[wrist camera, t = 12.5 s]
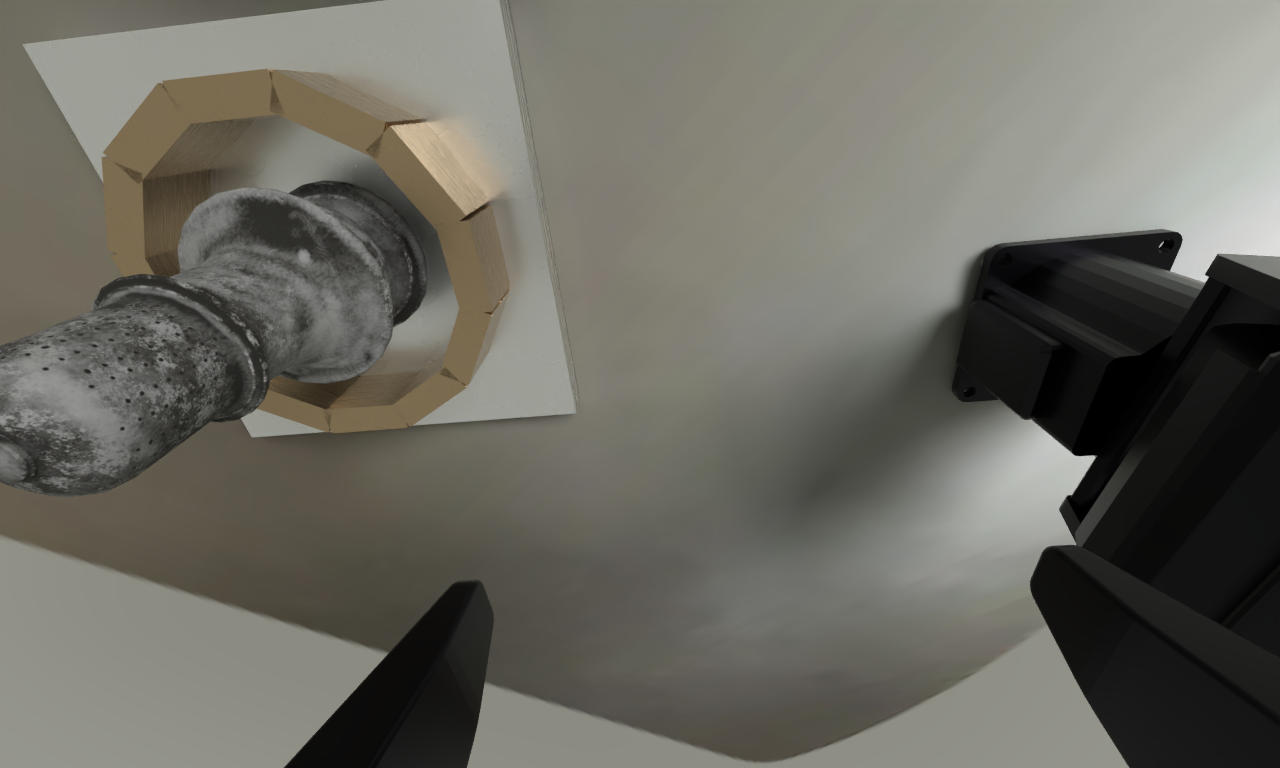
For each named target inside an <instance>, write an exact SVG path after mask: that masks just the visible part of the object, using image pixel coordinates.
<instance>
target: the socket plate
mask: <svg viewBox="0 0 1280 768" xmlns="http://www.w3.org/2000/svg"><path fill="white" fill-rule="evenodd" d="M23 46H24V48H25V50H26V51H27V53H28V55H29V56H30V58H31V60H32V62H33V63H34V65H35V67H36V68H37V70H38V72H39V74H40V75H41V77H42V79H43V80H44V82H45V84H46V86H47V87H48V89H49V91H50V92H51V94H52V96H53V98H54V99H55V101H56V103H57V104H58V106H59V108H60V110H61V111H62V113H63V115H64V116H65V118H66V120H67V122H68V123H69V125H70V127H71V128H72V130H73V132H74V134H75V135H76V137H77V139H78V140H79V142H80V144H81V146H82V147H83V149H84V151H85V152H86V154H87V156H88V158H89V159H90V161H91V163H92V164H93V166H94V168H95V169H96V171H97V173H98V175H99V176H100V178H101V180H102V181H103V186H104V200H105V214H106V229H107V243H108V250H109V251H111V252H114V253H115V254H111V255H110V256H111V258H112V260H113V261H114V263H115V264H116V266H117V268H118V269H119V271H120V272H121V274H122V276H123V277H126V276H131V275H137V274H150V275H161V276H166V277H171V276H174V275H177V274H179V273H180V267H179V258H178V245H179V241H180V236H181V232H182V227H183V225H184V223H185V222H186V220H187V219H188V217H189V216H190V215H191V213H192V212H193V210H194V209H195V207H196V206H198V205H199V204H201V203H202V202H204V201H205V200H207V199H209V198H210V197H212V196H213V195H215V194H217V193H220V192H225V191H230V190H234V189H239V188H244V187H253V188H265V189H276V190H279V191H282V192H285V193H290V192H291V191H293V190H295V189H296V188H298V187H300V186H301V185H304V184H309V183H314V182H319V181H323V180H325V181H337V182H346V183H349V184H352V185H355V186H358V187H361V188H363V189H366V190H368V191H370V192H372V193H373V194H375V195H376V196H378V197H380V198H381V199H383V200H384V201H386V202H388V203H389V204H390V205H391V206H392V207H393V208H394V209H395V210H396V211H397V212H398V213H399V214H400V215H401V216H402V217H403V218H404V219H405V220H406V221H407V223H408V224H409V226H410V227H411V229H412V230H413V232H414V233H415V235H416V236H417V238H418V240H419V243H420V245H421V248H422V250H423V253H424V255H425V258H426V266H427V273H428V280H427V286H426V293H425V296H424V298H423V300H422V302H421V304H420V306H419V308H418V309H417V310H416V311H415V312H414V313H413V314H412V315H411V316H410V317H409V318H408V319H407V320H406V321H405V322H403V323H401V324H399V325H397V326H395V327H393V332H392V338H391V340H390V342H389V344H388V346H387V348H386V350H385V352H384V354H383V356H382V357H381V358H380V359H379V360H378V361H377V362H376V363H375V364H374V365H372V366H371V367H370V368H369V369H368V370H367V371H366V372H364V373H362V374H359V375H357V376H355V377H353V378H351V379H349V380H345V381H339V382H333V383H327V384H322V383H308V382H299V381H296V380H292V379H289V378H285V377H281V376H276V377H275V378H274V379H272V380H271V381H270V382H269V384H270V385H269V388H268V391H267V394H266V397H265V400H264V401H263V402H262V403H261V404H260V405H259V406H258V407H257V408H256V410H255V411H253V412H252V413H250V414H248V415H246V416H244V417H242V418H241V420H242V421H243V423H244V425H245V426H246V428H247V430H248V432H249V433H250V435H251V437H265V436H278V435H292V434H305V433H319V432H327V433H329V432H332V433H345V432H358V431H372V430H385V429H399V428H408V426H413V425H426V424H440V423H453V422H467V421H480V420H494V419H507V418H521V417H534V416H547V415H561V414H574V413H576V411H577V407H578V402H579V394H578V388H577V383H576V377H575V371H574V366H573V360H572V355H571V349H570V344H569V338H568V332H567V327H566V321H565V316H564V310H563V304H562V299H561V293H560V288H559V282H558V276H557V271H556V265H555V260H554V254H553V249H552V243H551V237H550V232H549V226H548V221H547V215H546V209H545V204H544V198H543V193H542V187H541V182H540V176H539V170H538V165H537V159H536V154H535V148H534V142H533V137H532V131H531V126H530V120H529V115H528V109H527V103H526V98H525V92H524V87H523V81H522V75H521V70H520V64H519V59H518V53H517V48H516V42H515V36H514V31H513V25H512V20H511V14H510V8H509V3H508V0H384V1H376V2H367V3H359V4H351V5H343V6H334V7H326V8H318V9H310V10H301V11H293V12H285V13H277V14H268V15H260V16H252V17H243V18H235V19H227V20H219V21H210V22H202V23H194V24H186V25H177V26H169V27H161V28H153V29H144V30H136V31H128V32H120V33H111V34H103V35H95V36H86V37H78V38H70V39H62V40H53V41H45V42H37V43H29V44H23Z"/></svg>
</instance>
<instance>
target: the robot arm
mask: <svg viewBox="0 0 1280 768" xmlns="http://www.w3.org/2000/svg"><path fill="white" fill-rule="evenodd" d="M1163 241H1164V243H1163V245H1162V246H1161V247H1160V248H1159V246H1160V244H1161V243H1162V242H1163ZM1181 244H1182V236H1181V235H1180V234H1179V233H1178V232H1174V231H1170V230H1164V229H1159V230H1148V231H1137V232H1125V233H1114V234H1103V235H1092V236H1080V237H1069V238H1058V239H1046V240H1035V241H1024V242H1012V243H1002V244H998V245H995V246H994V247H992V248H991V249H990V250H989V251H988V252H987V253H986V256H985V258H984V261H983V265H982V269H981V273H980V277H979V281H978V285H977V289H976V293H975V298H974V302H973V304H972V305H971V306H970V309H969V313H968V317H967V321H966V325H965V329H964V333H963V337H962V341H961V345H960V349H959V354H958V358H957V363H958V366H957V370H956V374H955V378H954V382H953V386H952V392H953V394H954V395H955V396H956V397H957V398H958V399H959V400H961V401H962V402H974V401H987V400H1000V401H1002V402H1003V403H1004V404H1005V405H1006V406H1008V407H1009V408H1010V409H1011V410H1012V411H1013V412H1015V413H1016V414H1017V415H1018V416H1019V417H1020V418H1022V419H1024V420H1033V421H1034V422H1035V423H1036V424H1037V425H1039V426H1040V427H1041V428H1042V429H1043V430H1045V431H1046V432H1047V433H1048V434H1049V435H1051V436H1052V437H1053V438H1054V439H1056V440H1057V441H1058V442H1059V443H1060V444H1062V445H1063V446H1064V447H1065V448H1066V449H1068V450H1069V451H1070V452H1071V453H1072V454H1074V455H1075V456H1088V455H1094V456H1095V457H1096V458H1095V459H1094V461H1093V463H1092V464H1091V466H1090V467H1089V469H1088V470H1087V472H1086V474H1085V475H1084V477H1083V478H1082V480H1081V482H1080V483H1079V485H1078V486H1077V488H1076V490H1075V491H1074V493H1073V494H1072V495H1069V496H1067V497H1066V498H1065V500H1064V502H1063V503H1062V505H1061V506H1060V508H1059V511H1060V512H1061V514H1062V516H1063V518H1064V520H1065V522H1066V524H1067V526H1068V528H1069V530H1070V532H1071V534H1072V536H1073V538H1074V540H1075V542H1076V546H1075V545H1060V546H1049V547H1047V548H1046V549H1044V550H1043V552H1042V554H1041V556H1040V559H1039V561H1038V563H1037V566H1036V568H1035V570H1034V573H1033V575H1032V577H1031V580H1030V588H1031V593H1032V596H1033V598H1034V600H1035V602H1036V604H1037V606H1038V608H1039V610H1040V612H1041V614H1042V616H1043V617H1044V619H1045V621H1046V623H1047V625H1048V627H1049V629H1050V631H1051V633H1052V635H1053V637H1054V639H1055V641H1056V643H1057V645H1058V646H1059V648H1060V650H1061V652H1062V654H1063V656H1064V658H1065V660H1066V662H1067V664H1068V666H1069V668H1070V670H1071V672H1072V674H1073V676H1074V678H1075V679H1076V681H1077V683H1078V685H1079V687H1080V689H1081V690H1082V692H1083V694H1084V696H1085V697H1086V699H1087V701H1088V702H1089V704H1090V706H1091V708H1092V709H1093V711H1094V712H1095V714H1096V715H1097V717H1098V719H1099V720H1100V722H1101V724H1102V725H1103V727H1104V728H1105V730H1106V732H1107V733H1108V735H1109V736H1110V738H1111V739H1112V741H1113V743H1114V744H1115V746H1116V747H1117V749H1118V750H1119V752H1120V753H1121V755H1122V757H1123V758H1124V760H1125V761H1126V763H1127V765H1128V766H1129V767H1130V768H1280V257H1273V256H1254V255H1235V254H1217V256H1216V258H1215V259H1214V261H1213V262H1212V264H1211V266H1210V267H1209V269H1208V270H1207V272H1206V274H1205V275H1206V276H1208V277H1209V278H1208V280H1207V281H1206V283H1204V282H1200V281H1197V280H1194V279H1191V278H1188V277H1185V276H1182V275H1179V274H1176V273H1173V272H1170V269H1171V267H1172V265H1173V263H1174V260H1175V258H1176V256H1177V253H1178V251H1179V249H1180V247H1181ZM1158 248H1159V249H1158ZM1003 254H1006V257H1005V259H1004V260H1003V261H1002V262H1001V263H999V264H998V259H999V257H1000V256H1002V255H1003ZM970 386H971V387H970ZM967 387H970V388H969V390H967V391H965V392H964V390H965V389H966V388H967ZM493 622H494V617H493V610H492V607H491V605H490V602H489V599H488V596H487V594H486V591H485V588H484V586H483V584H482V582H481V581H479V580H462V581H457V582H455V583H453V584H452V585H451V586H450V587H449V588H448V589H447V590H446V591H445V592H444V594H443V595H442V596H441V597H440V598H439V599H438V600H437V601H436V602H435V603H434V604H433V606H432V607H431V608H430V609H429V610H428V611H427V612H426V613H425V614H424V615H423V616H422V618H421V619H420V620H419V621H418V622H417V623H416V624H415V625H414V626H413V627H412V629H411V630H410V631H409V632H408V633H407V634H406V635H405V636H404V637H403V638H402V639H401V641H400V642H399V643H398V644H397V645H396V646H395V647H394V648H393V649H392V650H391V651H390V653H389V654H388V655H387V656H386V657H385V658H384V659H383V660H382V661H381V662H380V664H379V665H378V666H377V667H376V668H375V669H374V670H373V671H372V672H371V673H370V674H369V675H368V677H367V678H366V679H365V680H364V681H363V682H362V683H361V684H360V685H359V686H358V688H357V689H356V690H355V691H354V692H353V693H352V694H351V695H350V696H349V697H348V698H347V700H346V701H345V702H344V703H343V704H342V705H341V706H340V707H339V708H338V709H337V710H336V711H335V713H334V714H333V715H332V716H331V717H330V718H329V719H328V720H327V721H326V722H325V724H324V725H323V726H322V727H321V728H320V729H319V730H318V731H317V732H316V733H315V735H313V737H312V738H311V739H310V740H309V741H308V742H307V743H306V744H305V745H304V746H303V747H302V749H301V750H300V751H299V752H298V753H297V754H296V755H295V756H294V758H292V759H291V761H290V762H289V763H288V764H287V765H286V766H285V767H284V768H467V765H468V761H469V757H470V753H471V749H472V745H473V742H474V737H475V733H476V728H477V724H478V718H479V713H480V708H481V701H482V695H483V688H484V682H485V676H486V669H487V663H488V656H489V650H490V643H491V637H492V630H493Z"/></svg>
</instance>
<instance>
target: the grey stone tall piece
mask: <svg viewBox="0 0 1280 768" xmlns="http://www.w3.org/2000/svg"><path fill="white" fill-rule="evenodd" d="M178 258H179V267H180V273H179V274H177V275H174V276H171V277H166V276H161V275H150V274H137V275H131V276H126V277H121V278H118V279H116V280H114V281H113V282H111V283H109V284H108V285H106V286H105V287H103V288H101V290H100V292H99V293H98V295H97V296H96V298H95V299H94V301H93V304H92V311H91V312H88V313H85V314H83V315H80V316H78V317H75V318H72V319H70V320H67V321H65V322H62V323H59V324H57V325H54V326H52V327H49V328H46V329H44V330H41V331H39V332H36V333H33V334H31V335H28V336H26V337H23V338H20V339H18V340H15V341H13V342H10V343H7V344H5V345H2V346H0V482H2V483H4V484H7V485H9V486H12V487H15V488H18V489H22V490H26V491H31V492H35V493H39V494H44V495H48V496H59V497H72V496H81V495H90V494H97V493H103V492H106V491H108V490H110V489H112V488H115V487H117V486H119V485H121V484H123V483H125V482H127V481H129V480H131V479H133V478H135V477H136V476H138V475H139V474H140V473H142V472H143V471H144V470H146V469H147V468H149V467H150V466H151V465H153V464H154V463H155V462H157V461H158V460H159V459H161V458H162V457H163V456H165V455H166V454H167V453H169V452H170V451H171V450H173V449H174V448H175V447H177V446H178V445H179V444H181V443H182V442H183V441H185V440H186V439H188V438H189V437H190V436H192V435H193V434H194V433H196V432H197V431H198V430H200V429H201V428H202V427H204V426H205V425H206V424H208V423H209V422H225V421H232V420H238V419H240V418H242V417H244V416H246V415H248V414H250V413H252V412H253V411H255V410H256V408H257V407H258V406H259V405H260V404H261V403H262V402H263V401H264V400H265V397H266V394H267V391H268V388H269V385H270V384H269V382H270V381H271V380H272V379H274V378H275V377H276V376H281V377H285V378H289V379H292V380H296V381H299V382H308V383H322V384H327V383H333V382H339V381H345V380H349V379H351V378H353V377H355V376H357V375H359V374H362V373H364V372H366V371H367V370H368V369H369V368H370V367H371V366H372V365H374V364H375V363H376V362H377V361H378V360H379V359H380V358H381V357H382V356H383V354H384V352H385V350H386V348H387V346H388V344H389V342H390V340H391V338H392V332H393V327H395V326H397V325H399V324H401V323H403V322H405V321H406V320H407V319H408V318H409V317H410V316H411V315H412V314H413V313H414V312H415V311H416V310H417V309H418V308H419V306H420V304H421V302H422V300H423V298H424V296H425V293H426V286H427V280H428V273H427V266H426V258H425V255H424V253H423V250H422V248H421V245H420V243H419V240H418V238H417V236H416V235H415V233H414V232H413V230H412V229H411V227H410V226H409V224H408V223H407V221H406V220H405V219H404V218H403V217H402V216H401V215H400V214H399V213H398V212H397V211H396V210H395V209H394V208H393V207H392V206H391V205H390V204H389V203H388V202H386V201H384V200H383V199H381V198H380V197H378V196H376V195H375V194H373V193H372V192H370V191H368V190H366V189H363V188H361V187H358V186H355V185H352V184H349V183H346V182H337V181H325V180H323V181H319V182H314V183H309V184H304V185H301V186H300V187H298V188H296V189H295V190H293V191H291V192H290V193H285V192H282V191H279V190H276V189H265V188H253V187H244V188H239V189H234V190H230V191H225V192H220V193H217V194H215V195H213V196H212V197H210V198H209V199H207V200H205V201H204V202H202V203H201V204H199V205H198V206H196V207H195V209H194V210H193V212H192V213H191V215H190V216H189V217H188V219H187V220H186V222H185V223H184V225H183V227H182V232H181V236H180V241H179V245H178Z"/></svg>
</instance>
